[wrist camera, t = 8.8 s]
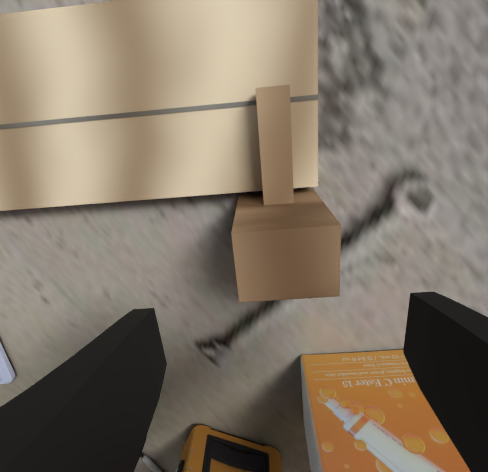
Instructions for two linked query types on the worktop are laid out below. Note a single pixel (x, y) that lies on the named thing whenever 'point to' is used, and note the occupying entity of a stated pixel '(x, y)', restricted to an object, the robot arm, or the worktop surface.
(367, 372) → the small box
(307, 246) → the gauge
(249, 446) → the multimeter
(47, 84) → the board
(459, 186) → the worktop surface
